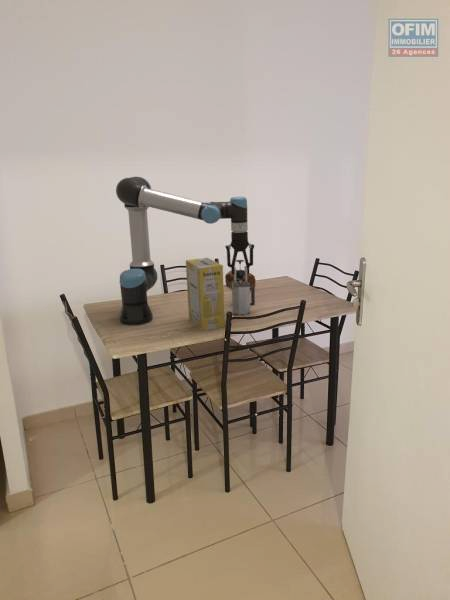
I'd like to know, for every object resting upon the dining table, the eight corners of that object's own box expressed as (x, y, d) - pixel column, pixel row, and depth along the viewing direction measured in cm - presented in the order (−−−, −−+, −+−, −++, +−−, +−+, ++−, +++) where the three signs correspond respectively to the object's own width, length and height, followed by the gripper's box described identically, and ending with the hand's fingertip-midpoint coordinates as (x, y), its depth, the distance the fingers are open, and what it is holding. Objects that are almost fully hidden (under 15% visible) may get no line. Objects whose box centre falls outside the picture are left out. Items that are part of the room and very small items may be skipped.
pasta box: (189, 318, 219) (185, 260, 211) (209, 315, 223) (207, 257, 215) (202, 330, 203) (199, 268, 195) (224, 326, 207) (222, 265, 199)
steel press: (234, 316, 220) (233, 285, 216) (231, 310, 228) (230, 281, 224) (256, 314, 221) (255, 284, 217) (252, 309, 229) (252, 279, 225)
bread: (256, 290, 262) (255, 273, 259) (239, 293, 258) (238, 275, 255) (240, 283, 278) (240, 266, 275) (224, 285, 274) (224, 269, 271)
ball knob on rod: (237, 301, 221) (236, 270, 216) (236, 298, 224) (235, 269, 220) (245, 300, 221) (245, 270, 217) (244, 298, 225) (243, 268, 220)
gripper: (221, 233, 208) (223, 283, 215) (259, 231, 211) (260, 281, 217) (219, 231, 216) (221, 280, 222) (256, 229, 218) (257, 277, 225)
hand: (240, 280), depth 220 cm, fingers open, 4 cm apart
